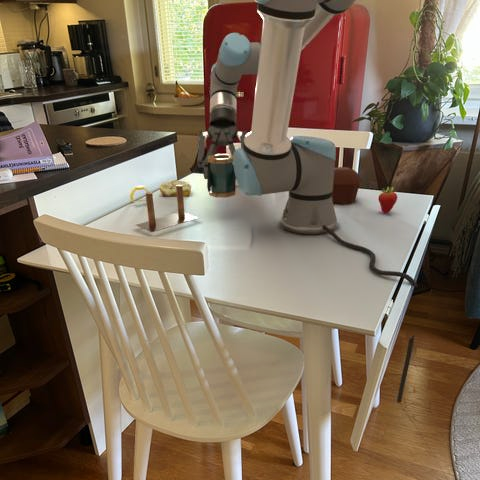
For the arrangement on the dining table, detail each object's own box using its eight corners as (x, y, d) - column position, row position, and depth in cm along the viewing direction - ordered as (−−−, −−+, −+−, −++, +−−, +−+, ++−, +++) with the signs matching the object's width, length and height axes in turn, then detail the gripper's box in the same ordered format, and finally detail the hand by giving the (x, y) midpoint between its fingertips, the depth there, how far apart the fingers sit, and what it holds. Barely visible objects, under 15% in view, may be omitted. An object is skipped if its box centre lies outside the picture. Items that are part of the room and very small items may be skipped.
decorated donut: (167, 201, 155) (166, 189, 153) (155, 193, 163) (154, 182, 161) (196, 195, 160) (195, 184, 158) (183, 188, 168) (182, 177, 166)
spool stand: (181, 216, 142) (179, 180, 136) (199, 222, 137) (196, 186, 131) (135, 230, 132) (130, 192, 127) (152, 237, 127) (147, 198, 122)
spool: (235, 190, 136) (235, 153, 131) (235, 197, 130) (234, 159, 125) (210, 190, 136) (209, 153, 131) (208, 197, 130) (206, 159, 125)
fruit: (384, 209, 145) (388, 182, 140) (398, 213, 141) (403, 186, 137) (373, 212, 142) (376, 185, 138) (386, 217, 138) (390, 189, 134)
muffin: (365, 199, 153) (369, 167, 148) (348, 208, 146) (351, 174, 141) (334, 193, 160) (336, 162, 155) (315, 200, 153) (317, 169, 148)
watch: (133, 207, 150) (131, 188, 146) (130, 205, 152) (128, 186, 149) (151, 204, 152) (149, 186, 149) (148, 202, 154) (146, 184, 151)
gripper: (256, 122, 138) (256, 195, 132) (191, 123, 138) (188, 196, 133) (257, 105, 130) (256, 181, 125) (187, 105, 131) (184, 182, 125)
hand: (221, 188), depth 129 cm, fingers closed on spool, 6 cm apart
